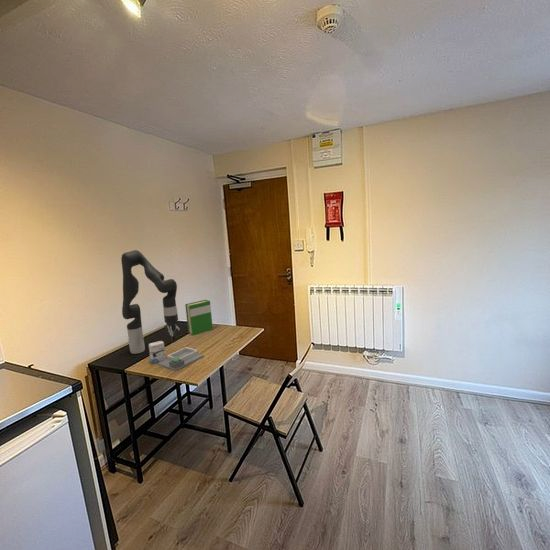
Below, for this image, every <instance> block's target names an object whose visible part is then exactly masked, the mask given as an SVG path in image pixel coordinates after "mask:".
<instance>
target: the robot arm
mask: <svg viewBox="0 0 550 550" xmlns="http://www.w3.org/2000/svg"><path fill="white" fill-rule="evenodd" d="M136 266H142V267H143V269H144V275H145V276H146V278H147V279H148V280H149V281H150V282H152V283H153V285H154V286H155V288H156V289H157V291H159V292H160V293H161V294H166V295H165V296H163V297H162V307H163V311H162V312H163V319H164V323H166V324H165V325H164V329H165V331H166V332H167V334H168V335H170V339H171V342H172V343H176V342H177V336H178V335H179V334H180V331H181V327H179V325H178V321H179V315H178V314H179V313H178V307H177V301H176V296H177V290H178V284H177V282H176V280H174V279H172V278H171V279H165V275H164V274H163V273H161V272H160V271H159V270H158V269H157V268H156V267H154V266H153V265H152V264H151V262H150V261H149V260H148V259H147V258H146V257H145V255H143V253H142V252H140V251H139V250H138V249H135V250H131V251H126V252H123V254H122V255H121V268H122V306H121V308H122V309H121V310H122V311H121V314H122V317H123V319H124V320H131V319H132V320H131V321H130V322H129V323H127V324H126V330H127V337H128V338H127V339H128V344H129V352H130V353H131V354H134V355H135V354H140V353H144V352H145V350H146V347H145V340H144V334H143V333H144V332H143V331H144V330H143V325H142V315H141V314H142V312H141V308H140V305H139V304H138V303H133V304H131V303H132V302H133V300H134V298H136V296H138V294H139V290H140V289H139V288H140V287H139V286H140V284H139V280H138V279H137V278H136V276H135V275H134V274H133V272H132V268H133V267H136Z"/></svg>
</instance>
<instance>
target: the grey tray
mask: <svg viewBox="0 0 550 550" xmlns="http://www.w3.org/2000/svg"><path fill="white" fill-rule="evenodd" d="M175 356H179V362H177V363H174V362H173V357H175ZM204 357H205V356H204V354H200V353H199V349H195V348H191V347H188V346H185V347H183V348H180V349H179V350H177V351H174V352H172V353H170V354H168V355H166V360H163V361H160V362H157V366H159V367H162V368H164V369H167V370H170V371H173V372H177V371H179V370H180V369H183V368H185V367H187V366H189V365H191V364H193V363H195V362H197V361H199V360H200V359H203V358H204Z"/></svg>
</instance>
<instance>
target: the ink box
mask: <svg viewBox="0 0 550 550" xmlns="http://www.w3.org/2000/svg"><path fill="white" fill-rule="evenodd" d="M148 351H149V359H150V360H149V361H150V362H151V363H152V364H156V363H157V364H158V363H159V362H162V361H164V360H166V359H167V355H166V349H165V342H164V341H163V340H158V341H155V342H151V343H148Z"/></svg>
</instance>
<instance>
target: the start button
mask: <svg viewBox="0 0 550 550" xmlns="http://www.w3.org/2000/svg"><path fill="white" fill-rule="evenodd" d="M173 362H174V363H177V362H179V356H175V357H173Z"/></svg>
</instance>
